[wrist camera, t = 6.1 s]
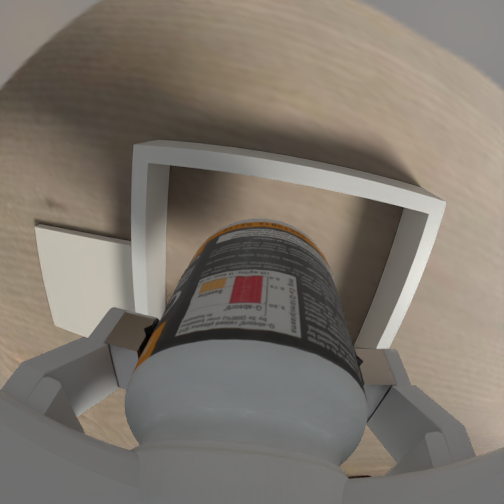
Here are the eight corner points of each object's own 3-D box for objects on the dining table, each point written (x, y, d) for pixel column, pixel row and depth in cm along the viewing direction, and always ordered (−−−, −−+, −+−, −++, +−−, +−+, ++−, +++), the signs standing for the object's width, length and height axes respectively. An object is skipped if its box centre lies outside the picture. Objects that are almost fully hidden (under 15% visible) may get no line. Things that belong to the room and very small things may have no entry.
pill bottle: (178, 224, 12) (10, 446, 3) (327, 206, 11) (440, 486, 2) (209, 337, 14) (149, 542, 5) (331, 329, 13) (361, 551, 4)
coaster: (58, 321, 22) (54, 325, 21) (39, 223, 18) (34, 226, 17) (149, 350, 21) (146, 355, 21) (143, 243, 18) (139, 247, 17)
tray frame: (159, 372, 22) (147, 399, 20) (158, 139, 15) (133, 144, 12) (336, 401, 22) (339, 430, 19) (421, 187, 15) (446, 201, 12)
